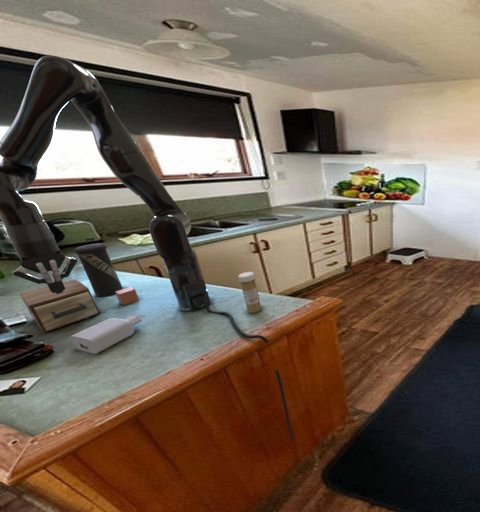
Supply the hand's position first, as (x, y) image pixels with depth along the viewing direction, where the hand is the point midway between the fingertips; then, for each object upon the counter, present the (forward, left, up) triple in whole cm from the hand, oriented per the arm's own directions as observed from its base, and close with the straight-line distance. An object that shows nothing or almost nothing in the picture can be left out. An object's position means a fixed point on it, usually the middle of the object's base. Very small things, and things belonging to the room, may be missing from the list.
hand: (59, 292), depth 83 cm
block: (+5, -15, -12) cm, 20 cm away
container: (+23, -14, -12) cm, 30 cm away
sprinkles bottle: (-44, -34, -12) cm, 57 cm away
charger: (-20, -5, -12) cm, 24 cm away
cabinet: (+11, 0, -12) cm, 17 cm away
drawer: (+7, 0, -11) cm, 13 cm away
